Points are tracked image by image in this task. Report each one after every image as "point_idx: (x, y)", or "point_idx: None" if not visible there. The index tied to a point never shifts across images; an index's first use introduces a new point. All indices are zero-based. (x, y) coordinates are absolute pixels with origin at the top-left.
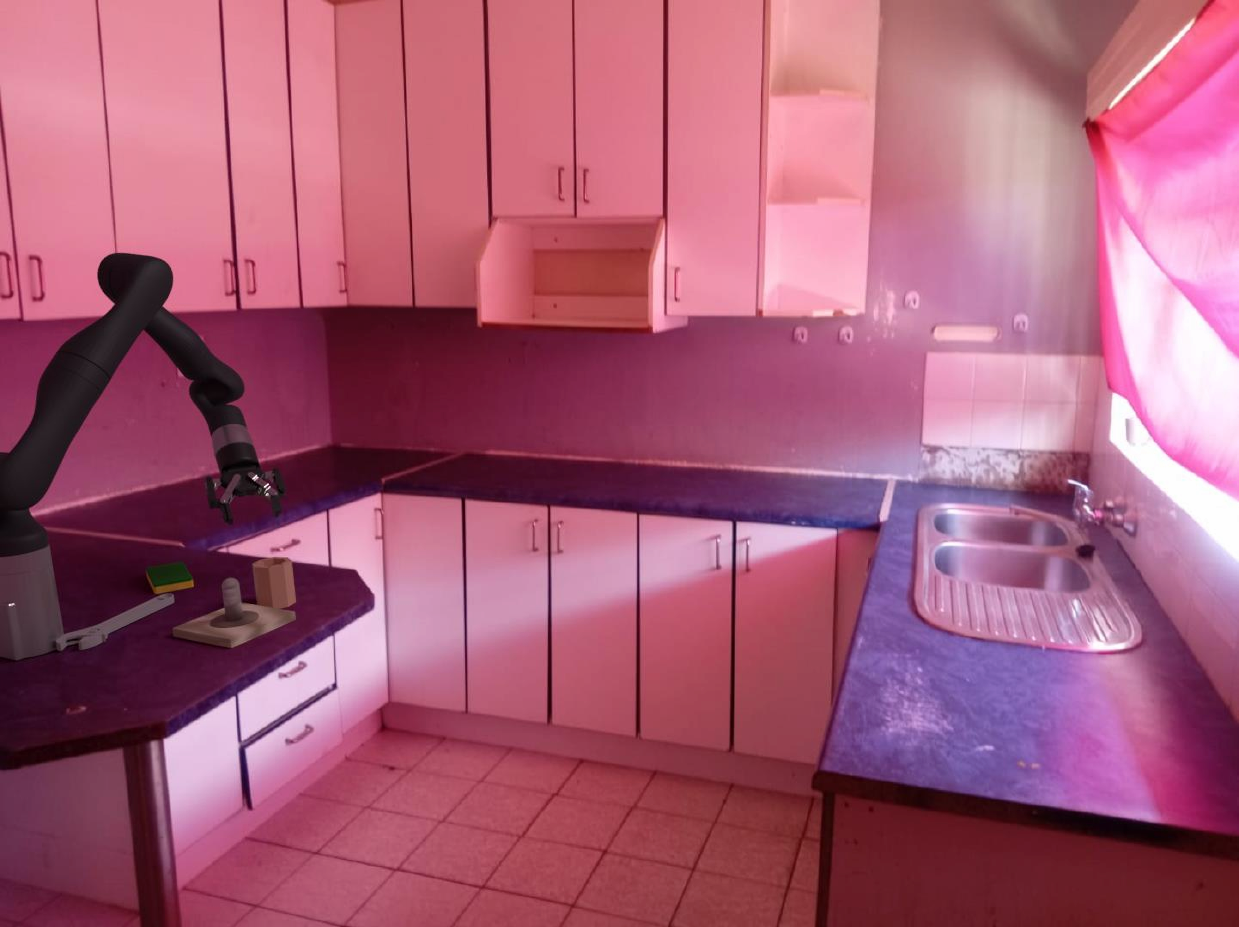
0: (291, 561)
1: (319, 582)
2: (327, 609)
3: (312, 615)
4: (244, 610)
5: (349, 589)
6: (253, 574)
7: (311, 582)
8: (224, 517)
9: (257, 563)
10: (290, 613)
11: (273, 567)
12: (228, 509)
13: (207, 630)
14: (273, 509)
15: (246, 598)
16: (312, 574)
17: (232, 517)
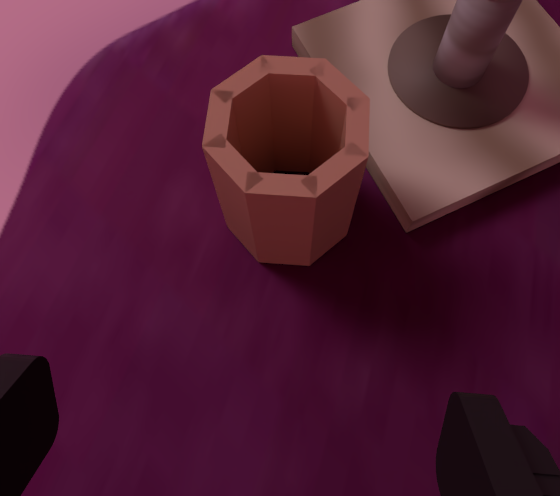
0: (212, 92)
1: (76, 338)
2: (191, 65)
3: (243, 48)
4: (414, 126)
5: (50, 185)
6: (361, 180)
7: (96, 361)
8: (540, 448)
9: (346, 146)
10: (307, 21)
11: (304, 58)
12: (517, 485)
13: (540, 38)
14: (13, 451)
15: (356, 345)
16: (37, 476)
17: (461, 393)
